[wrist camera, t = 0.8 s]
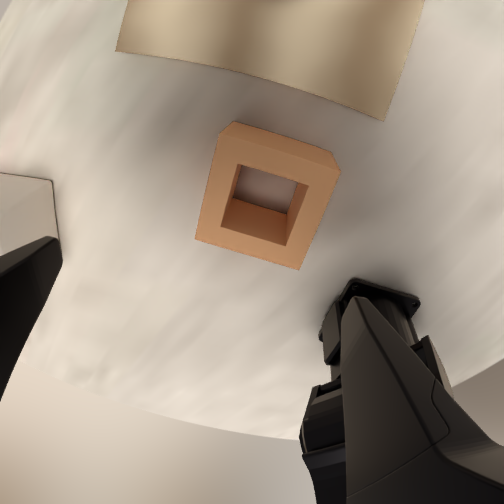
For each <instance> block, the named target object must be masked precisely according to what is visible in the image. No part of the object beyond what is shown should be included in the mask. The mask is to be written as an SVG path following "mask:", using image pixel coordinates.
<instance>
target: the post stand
mask: <svg viewBox="0 0 504 504" xmlns="http://www.w3.org/2000/svg"><path fill="white" fill-rule="evenodd" d="M424 1H425V0H128V4H127V7H126V11H125V14H124V18H123V22H122V25H121V29H120V33H119V37H118V41H117V46H116V50H115V52H126V53H136V54H144V55H152V56H159V57H166V58H172V59H178V60H184V61H190V62H195V63H200V64H205V65H210V66H215V67H219V68H224V69H228V70H232V71H236V72H241V73H244V74H248V75H252V76H256V77H260V78H263V79H267V80H270V81H274V82H277V83H281V84H284V85H287V86H290V87H294V88H297V89H300V90H303V91H306V92H309V93H312V94H315V95H317V96H320V97H323V98H326V99H329V100H331V101H334V102H337V103H339V104H342V105H345V106H347V107H350V108H352V109H355V110H357V111H360V112H362V113H364V114H367V115H369V116H372V117H374V118H376V119H378V120H381V121H384V119H385V116H386V114H387V111H388V108H389V106H390V103H391V100H392V98H393V95H394V92H395V89H396V87H397V84H398V81H399V78H400V75H401V73H402V70H403V67H404V64H405V61H406V58H407V55H408V52H409V49H410V46H411V43H412V40H413V37H414V34H415V31H416V27H417V24H418V21H419V18H420V14H421V11H422V8H423V4H424Z"/></svg>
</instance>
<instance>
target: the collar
mask: <svg viewBox="0 0 504 504" xmlns="http://www.w3.org/2000/svg"><path fill="white" fill-rule="evenodd" d="M242 165H244V166H248V167H251V168H255V169H258V170H261V171H264V172H268V173H271V174H274V175H277V176H281V177H284V178H287V179H290V180H293V181H296V182H298V185H297V188H296V191H295V193H294V196H293V199H292V201H291V204H290V207H289V210H288V212H287V215H286V214H283V213H280V212H277V211H273V210H270V209H267V208H264V207H260V206H257V205H254V204H251V203H247V202H244V201H241V200H237V199H234V198H233V194H234V191H235V187H236V184H237V180H238V177H239V173H240V170H241V166H242ZM340 173H341V171H340V169H339V167H338V165H337V163H336V161H335V159H334V157H333V155H332V153H331V152H329V151H327V150H324V149H321V148H318V147H315V146H313V145H310V144H307V143H304V142H301V141H298V140H295V139H292V138H289V137H285V136H282V135H279V134H276V133H273V132H269V131H266V130H263V129H259V128H256V127H252V126H249V125H245V124H242V123H238V122H234V121H233V122H232V123H231V124H230V125H228V126H227V127H226V128H225V129H224V130H223V131H222V132H221V133H220V134H219V137H218V141H217V145H216V149H215V153H214V157H213V161H212V165H211V169H210V173H209V177H208V182H207V186H206V190H205V194H204V199H203V203H202V207H201V212H200V216H199V221H198V225H197V230H196V235H195V239H196V240H199V241H202V242H206V243H209V244H212V245H216V246H219V247H222V248H226V249H229V250H232V251H236V252H239V253H242V254H246V255H249V256H253V257H256V258H259V259H263V260H266V261H269V262H273V263H276V264H280V265H283V266H286V267H290V268H293V269H296V270H299V269H300V267H301V265H302V262H303V260H304V258H305V256H306V253H307V251H308V249H309V247H310V244H311V242H312V240H313V237H314V235H315V233H316V230H317V228H318V226H319V223H320V221H321V219H322V216H323V214H324V212H325V209H326V207H327V205H328V202H329V200H330V197H331V195H332V193H333V190H334V188H335V185H336V183H337V180H338V178H339V175H340Z"/></svg>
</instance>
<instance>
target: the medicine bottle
mask: <svg viewBox="0 0 504 504" xmlns="http://www.w3.org/2000/svg"><path fill="white" fill-rule="evenodd" d="M45 236H52V237H56V238H58V232H57V225H56V217H55V209H54V200H53V189H52V183H51V181H49V180H43V179H36V178H30V177H23V176H16V175H9V174H1V173H0V256H2V255H4V254H6V253H8V252H10V251H13V250H15V249H17V248H19V247H21V246H24V245H26V244H28V243H31V242H33V241H35V240H38V239H40V238H42V237H45ZM58 240H59V239H58Z"/></svg>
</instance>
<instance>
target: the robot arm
mask: <svg viewBox="0 0 504 504" xmlns="http://www.w3.org/2000/svg"><path fill="white" fill-rule="evenodd" d="M62 263H63V258H62V253H61V248H60V242H59V240H58V238H56V237H52V236H45V237H42V238H40V239H38V240H35V241H33V242H31V243H28V244H26V245H24V246H21V247H19V248H17V249H15V250H13V251H10V252H8V253H6V254H4V255H2V256H0V401H1V398H2V396H3V393H4V391H5V388H6V386H7V383H8V381H9V378H10V376H11V373H12V371H13V369H14V367H15V364H16V362H17V360H18V358H19V356H20V353H21V351H22V349H23V347H24V345H25V343H26V341H27V339H28V337H29V335H30V333H31V330H32V329H33V327H34V325H35V323H36V321H37V319H38V317H39V315H40V313H41V311H42V309H43V307H44V305H45V303H46V301H47V299H48V296H49V294H50V292H51V289H52V287H53V285H54V282H55V280H56V278H57V276H58V274H59V271H60V269H61V267H62ZM353 285H357V286H356V287H352V286H353ZM413 303H415V304H413ZM419 306H420V300H419V298H417V297H415V296H412V295H408V294H405V293H402V292H399V291H395V290H392V289H389V288H385V287H382V286H379V285H376V284H372V283H369V282H366V281H362V280H359V279H352V280H350V281H349V283H348V284H347V286H346V288H345V290H344V291H343V293H342V295H341V297H340V298H339V300H338V301H336V302H334V304H333V306H332V307H331V309H330V311H329V313H328V314H327V316H326V318H325V319H324V321H323V323H322V329H321V331H320V332H319V334H318V336H319V340H320V341H321V342H323V349H324V362H325V364H326V365H330V368H331V382H329V383H326V384H324V385H317V386H315V387H313V388H312V391H311V395H310V398H309V402H308V405H307V408H306V412H305V415H304V418H303V422H302V425H301V429H300V435H299V439H300V444H301V448H302V452H303V454H302V458H303V460H304V462H305V464H306V466H307V468H308V470H309V472H310V475H311V478H312V481H313V485H314V490H315V496H316V502H317V504H504V446H501V445H499V444H497V443H496V442H494V441H493V440H491V439H490V438H489V437H488V436H487V435H486V434H485V433H484V432H483V430H482V429H481V428H480V427H479V426H478V425H477V424H476V423H475V422H474V421H473V420H472V419H471V418H470V416H468V414H467V413H466V412H465V411H464V410H463V409H462V408H461V407H460V406H459V405H458V404H457V402H456V401H454V395H453V392H452V389H451V386H450V383H449V380H448V377H447V374H446V372H445V369H444V367H443V364H442V362H441V360H440V358H439V356H438V354H437V352H436V350H435V348H434V345H433V343H432V341H431V339H430V337H429V335H427V336H425V337H423V338H421V341H419V340H418V337H417V334H416V331H415V328H414V326H413V323H412V320H411V318H412V316H413V315H414V313H415V312H416V311H417V309H418V308H419Z"/></svg>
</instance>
